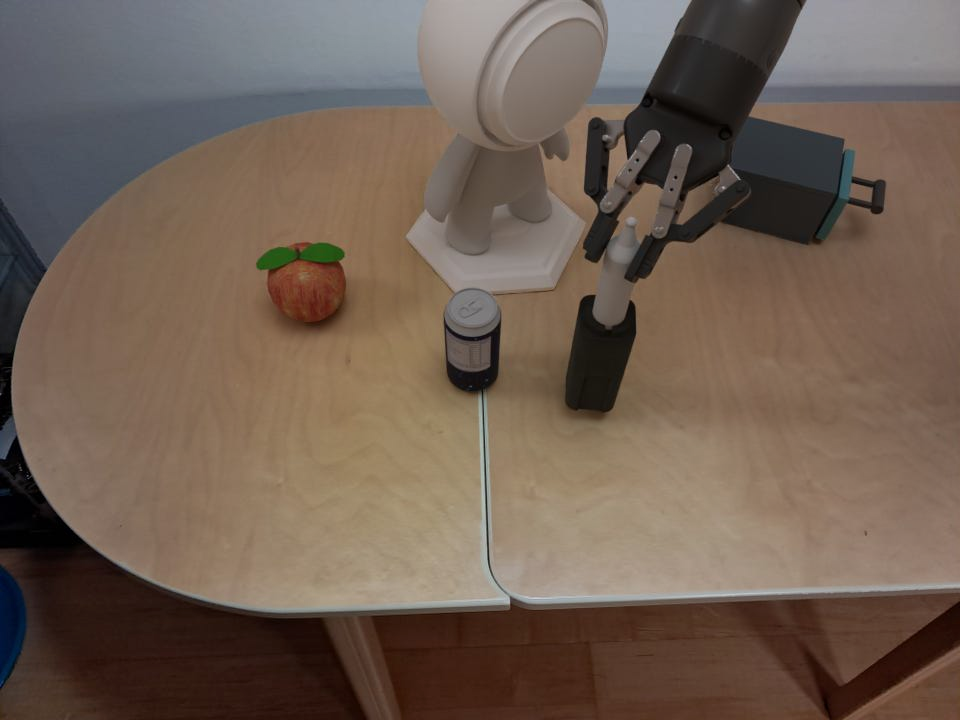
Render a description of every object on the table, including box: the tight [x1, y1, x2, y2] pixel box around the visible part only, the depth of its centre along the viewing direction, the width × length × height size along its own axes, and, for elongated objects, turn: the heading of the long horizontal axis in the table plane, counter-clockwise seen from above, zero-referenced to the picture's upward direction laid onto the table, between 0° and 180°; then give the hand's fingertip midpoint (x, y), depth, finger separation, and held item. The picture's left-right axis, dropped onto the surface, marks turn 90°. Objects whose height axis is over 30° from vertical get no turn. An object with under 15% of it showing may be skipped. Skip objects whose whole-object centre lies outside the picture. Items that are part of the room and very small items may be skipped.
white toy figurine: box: [405, 0, 609, 296], centre depth 75 cm, size 20×23×35 cm
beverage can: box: [442, 288, 502, 393], centre depth 72 cm, size 6×6×12 cm
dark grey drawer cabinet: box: [713, 115, 846, 246], centre depth 89 cm, size 13×11×9 cm
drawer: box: [815, 148, 887, 241], centre depth 88 cm, size 16×9×7 cm, turn 69°
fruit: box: [255, 241, 347, 323], centre depth 78 cm, size 9×10×10 cm
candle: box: [564, 216, 641, 414], centre depth 63 cm, size 5×5×25 cm
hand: (610, 269), depth 55 cm, fingers closed on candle, 3 cm apart
